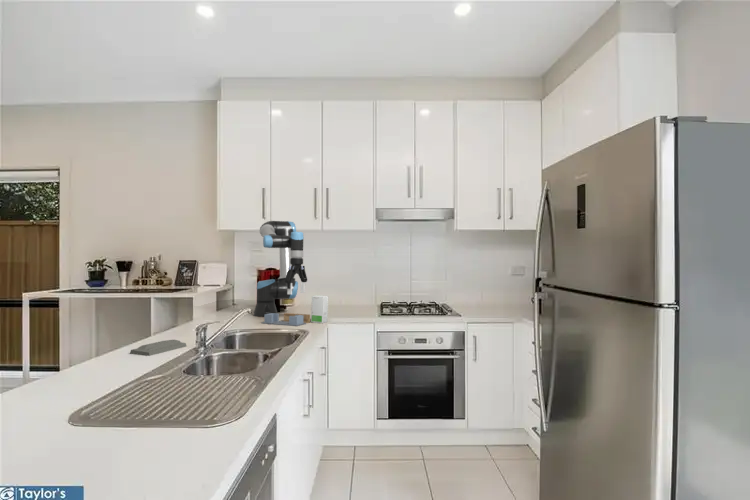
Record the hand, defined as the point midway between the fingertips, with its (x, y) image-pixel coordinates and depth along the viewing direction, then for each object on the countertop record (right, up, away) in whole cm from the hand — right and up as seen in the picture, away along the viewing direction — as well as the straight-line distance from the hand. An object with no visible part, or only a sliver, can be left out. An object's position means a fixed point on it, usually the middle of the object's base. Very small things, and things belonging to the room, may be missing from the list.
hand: (296, 293), depth 265 cm
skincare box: (+14, -17, +1) cm, 22 cm away
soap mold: (-41, -16, -84) cm, 94 cm away
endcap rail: (-6, -17, -7) cm, 19 cm away
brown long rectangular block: (0, -17, 0) cm, 17 cm away
